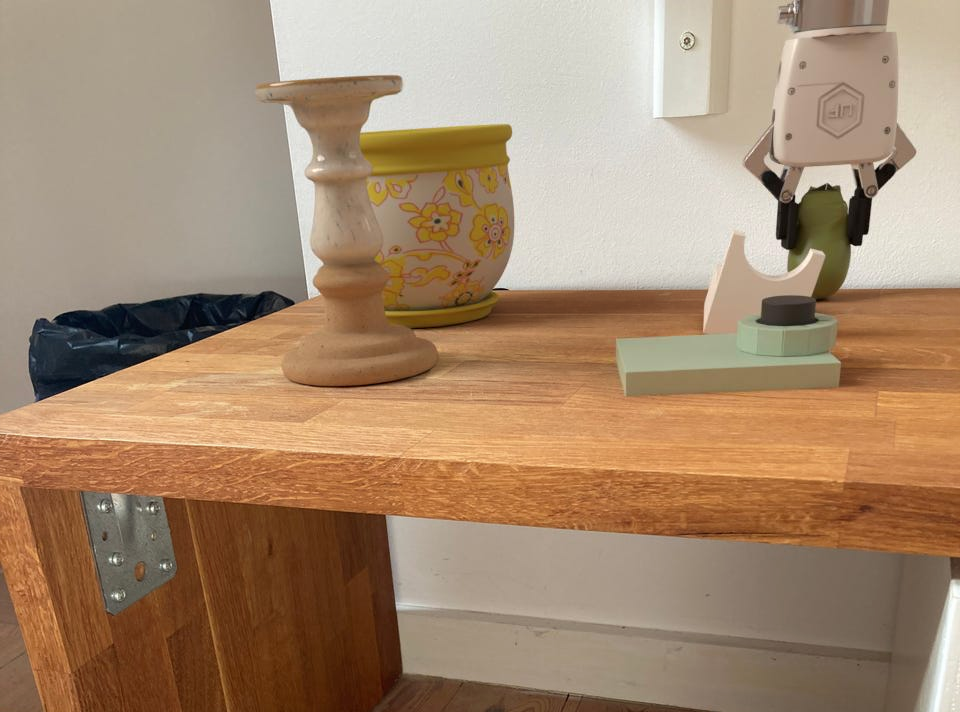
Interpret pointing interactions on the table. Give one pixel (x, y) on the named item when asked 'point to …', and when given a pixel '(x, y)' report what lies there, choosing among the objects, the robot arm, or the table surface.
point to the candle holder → (346, 240)
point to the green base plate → (732, 359)
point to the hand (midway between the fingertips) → (820, 244)
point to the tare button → (788, 310)
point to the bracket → (751, 286)
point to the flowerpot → (441, 220)
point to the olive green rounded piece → (823, 237)
